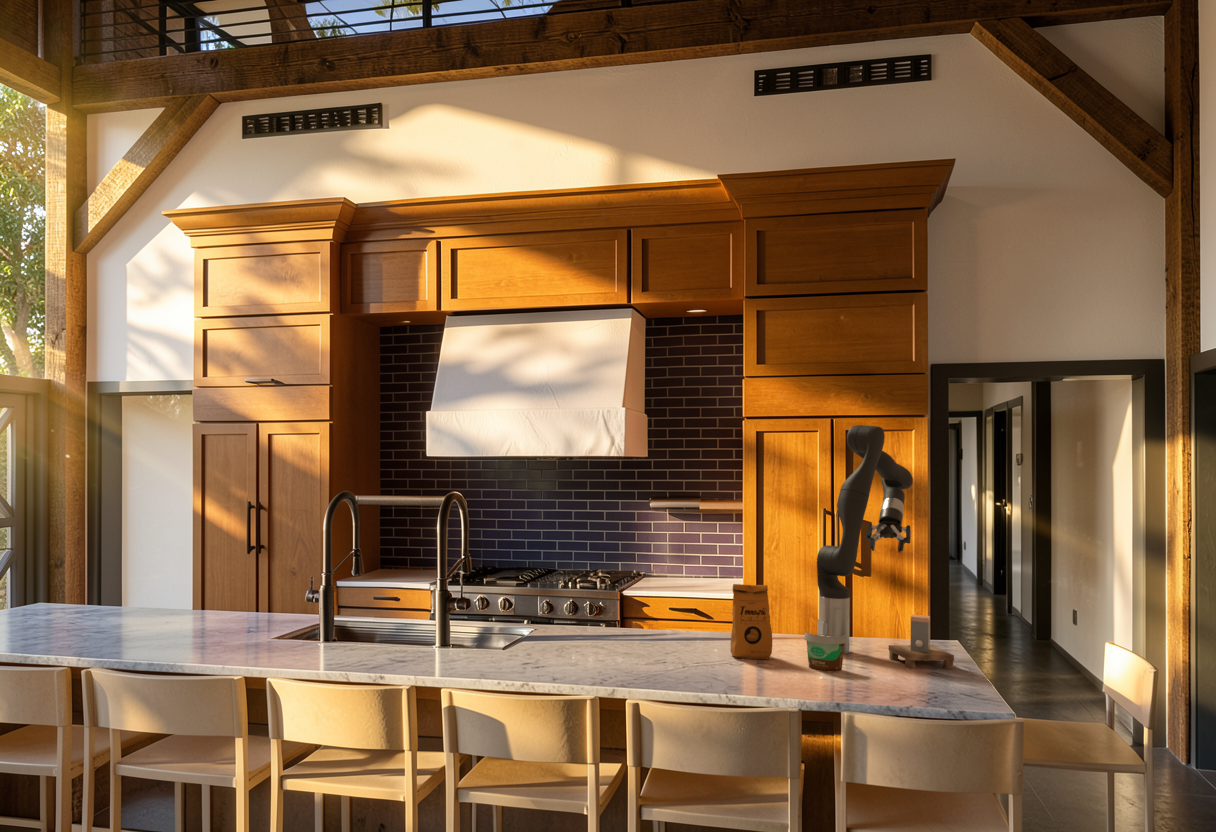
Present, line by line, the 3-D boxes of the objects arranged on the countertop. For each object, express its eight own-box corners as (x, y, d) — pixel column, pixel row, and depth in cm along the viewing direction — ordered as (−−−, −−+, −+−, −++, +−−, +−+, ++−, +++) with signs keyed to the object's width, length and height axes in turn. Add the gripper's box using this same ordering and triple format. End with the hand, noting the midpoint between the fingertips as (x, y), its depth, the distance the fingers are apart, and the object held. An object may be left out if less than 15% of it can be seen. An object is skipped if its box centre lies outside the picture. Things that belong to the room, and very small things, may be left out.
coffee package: (772, 661, 256) (773, 587, 257) (730, 659, 257) (731, 585, 259) (770, 654, 265) (771, 583, 267) (730, 652, 267) (731, 581, 268)
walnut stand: (907, 668, 251) (907, 654, 251) (888, 658, 265) (888, 645, 265) (954, 669, 252) (954, 655, 252) (932, 658, 266) (932, 645, 266)
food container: (798, 669, 247) (799, 633, 248) (804, 665, 252) (804, 630, 253) (842, 674, 241) (842, 638, 242) (846, 670, 247) (847, 635, 247)
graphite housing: (910, 651, 256) (910, 617, 257) (912, 647, 262) (912, 614, 262) (927, 653, 254) (927, 619, 255) (929, 649, 260) (929, 616, 260)
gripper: (868, 505, 297) (862, 541, 286) (912, 507, 290) (907, 543, 279) (871, 520, 301) (865, 556, 290) (914, 522, 295) (909, 558, 284)
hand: (886, 550), depth 285 cm, fingers open, 8 cm apart
